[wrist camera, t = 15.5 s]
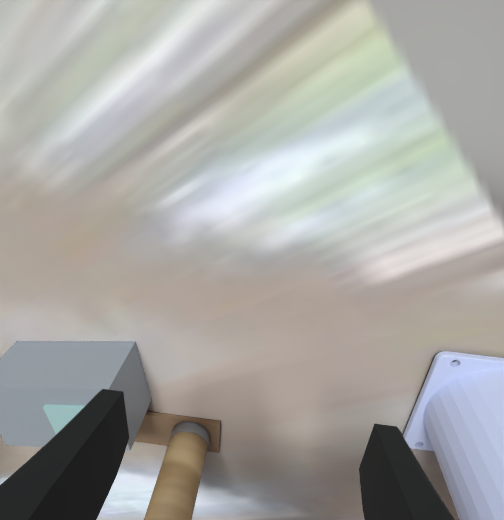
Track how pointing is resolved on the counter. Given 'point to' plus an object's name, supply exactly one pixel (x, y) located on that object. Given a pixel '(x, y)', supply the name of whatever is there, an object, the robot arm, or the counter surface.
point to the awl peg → (180, 473)
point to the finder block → (66, 386)
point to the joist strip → (161, 425)
